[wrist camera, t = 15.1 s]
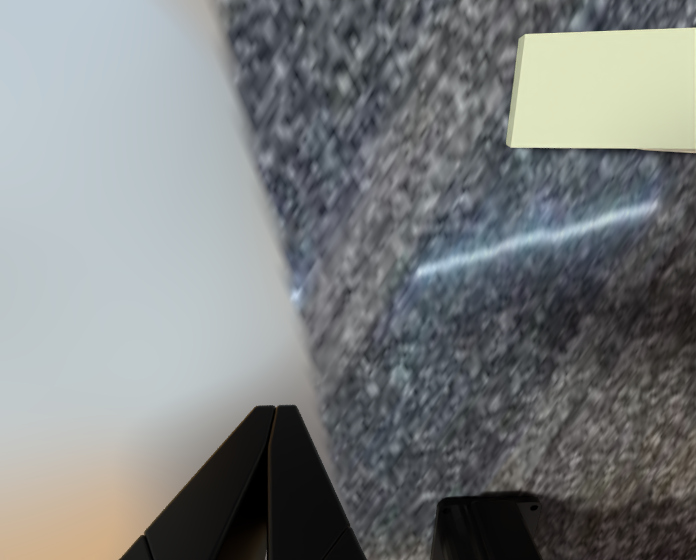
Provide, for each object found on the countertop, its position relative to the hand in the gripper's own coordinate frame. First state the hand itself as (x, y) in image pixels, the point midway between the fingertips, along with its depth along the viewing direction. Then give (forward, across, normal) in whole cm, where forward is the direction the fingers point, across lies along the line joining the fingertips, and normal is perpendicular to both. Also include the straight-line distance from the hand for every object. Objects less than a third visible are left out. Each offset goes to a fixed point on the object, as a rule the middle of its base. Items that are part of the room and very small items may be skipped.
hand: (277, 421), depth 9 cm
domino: (+11, -9, -6) cm, 16 cm away
